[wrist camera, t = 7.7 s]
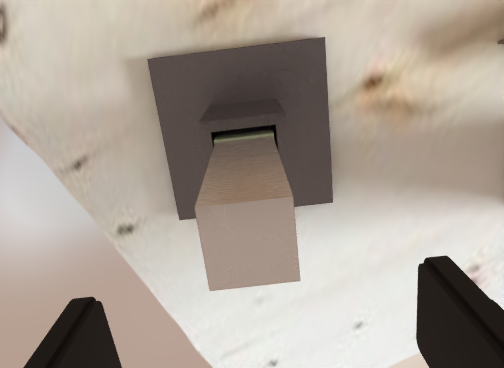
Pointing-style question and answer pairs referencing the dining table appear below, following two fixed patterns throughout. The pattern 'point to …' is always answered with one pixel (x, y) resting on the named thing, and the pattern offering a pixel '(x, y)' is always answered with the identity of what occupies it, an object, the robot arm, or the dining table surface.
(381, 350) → the dining table surface
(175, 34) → the dining table surface
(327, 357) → the dining table surface
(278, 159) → the column
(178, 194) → the stand housing
